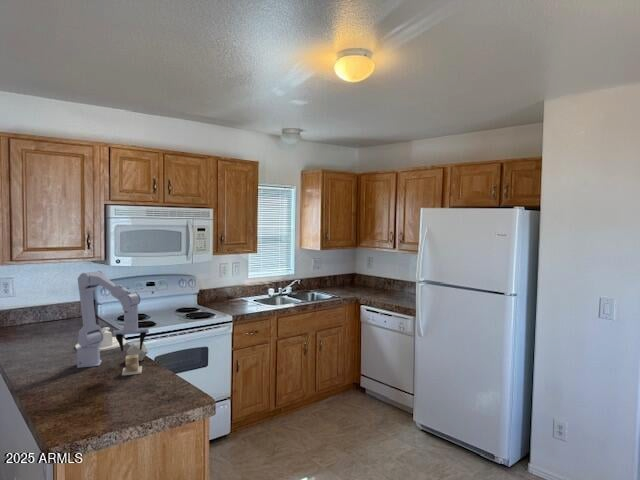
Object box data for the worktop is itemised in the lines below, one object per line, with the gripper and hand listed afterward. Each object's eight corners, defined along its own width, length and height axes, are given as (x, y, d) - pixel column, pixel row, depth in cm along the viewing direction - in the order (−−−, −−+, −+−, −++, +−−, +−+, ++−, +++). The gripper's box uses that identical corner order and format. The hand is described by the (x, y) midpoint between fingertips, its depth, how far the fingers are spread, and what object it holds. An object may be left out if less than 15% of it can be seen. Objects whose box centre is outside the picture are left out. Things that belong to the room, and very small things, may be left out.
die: (134, 365, 211) (147, 347, 214) (119, 355, 213) (133, 337, 215) (141, 366, 219) (154, 348, 222) (127, 356, 221) (139, 338, 223)
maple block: (125, 372, 198) (125, 358, 198) (126, 368, 203) (126, 355, 202) (137, 370, 199) (137, 357, 199) (138, 367, 204) (138, 354, 204)
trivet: (121, 375, 196) (121, 373, 196) (123, 369, 204) (123, 367, 204) (141, 373, 199) (141, 371, 199) (142, 367, 206) (142, 365, 206)
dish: (127, 348, 237) (126, 327, 237) (73, 354, 227) (73, 332, 226) (125, 337, 260) (124, 318, 259) (76, 342, 249) (75, 322, 248)
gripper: (112, 323, 194) (113, 354, 194) (147, 320, 198) (148, 350, 199) (114, 319, 200) (114, 349, 201) (148, 317, 205) (149, 346, 206)
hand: (131, 350), depth 201 cm, fingers open, 7 cm apart
